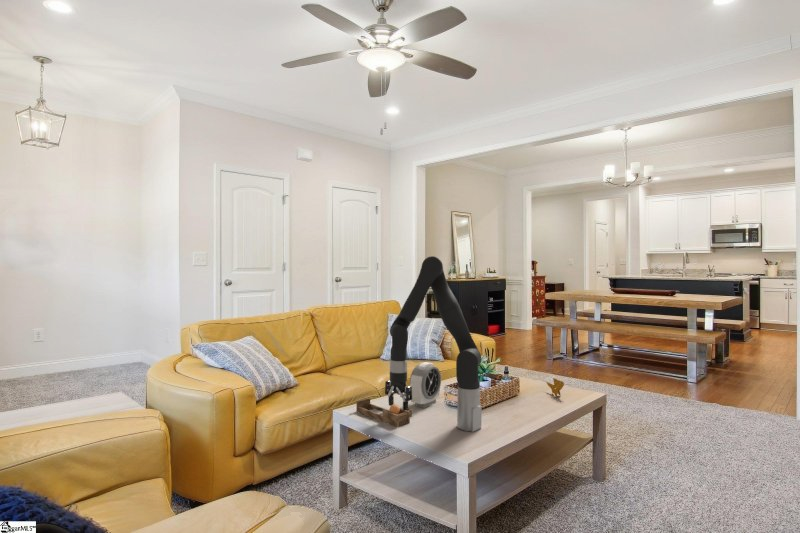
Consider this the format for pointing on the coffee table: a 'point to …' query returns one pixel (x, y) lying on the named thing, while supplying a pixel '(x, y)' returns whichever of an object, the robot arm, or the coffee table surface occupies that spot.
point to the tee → (410, 411)
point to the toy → (556, 386)
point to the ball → (394, 409)
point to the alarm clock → (425, 384)
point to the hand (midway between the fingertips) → (398, 407)
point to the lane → (383, 413)
